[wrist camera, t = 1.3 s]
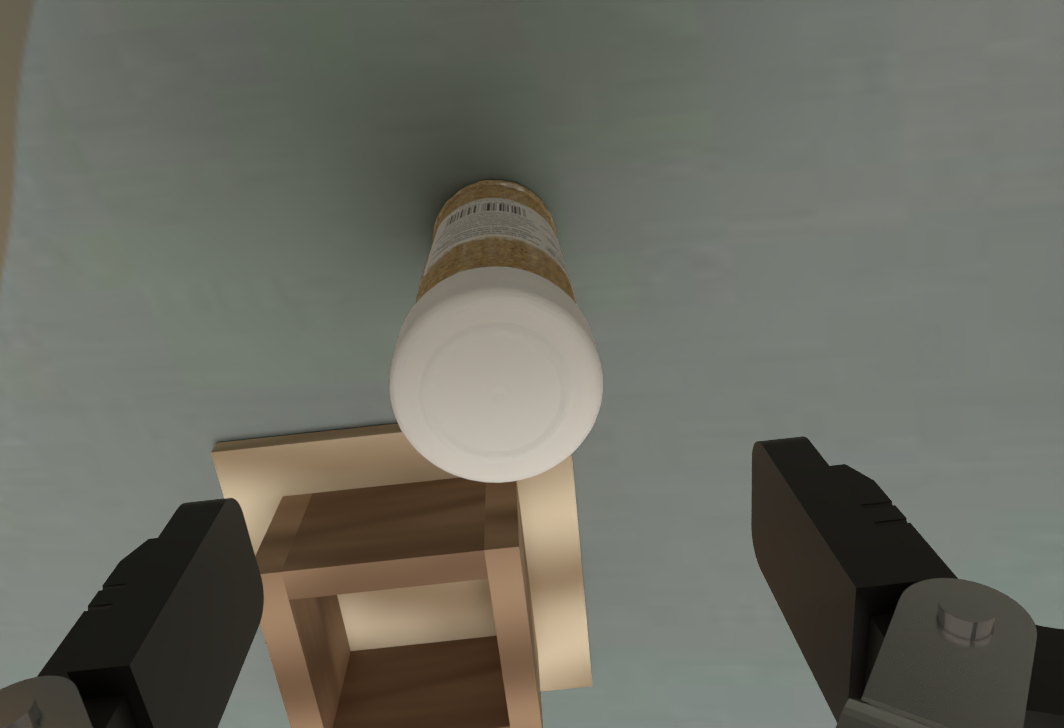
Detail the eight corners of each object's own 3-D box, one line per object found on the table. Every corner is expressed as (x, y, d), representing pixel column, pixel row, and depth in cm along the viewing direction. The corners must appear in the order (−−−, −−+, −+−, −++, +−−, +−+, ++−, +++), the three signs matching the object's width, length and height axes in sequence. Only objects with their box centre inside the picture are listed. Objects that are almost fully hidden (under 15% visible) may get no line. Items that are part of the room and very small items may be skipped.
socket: (217, 442, 31) (160, 526, 26) (566, 405, 31) (580, 481, 26) (293, 704, 37) (258, 818, 32) (590, 672, 37) (606, 781, 32)
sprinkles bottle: (426, 288, 29) (374, 476, 17) (442, 165, 28) (397, 274, 15) (547, 307, 30) (582, 503, 17) (570, 187, 28) (628, 310, 16)
